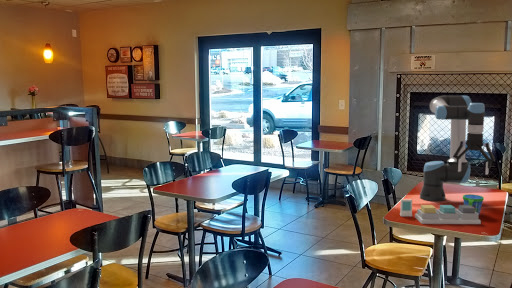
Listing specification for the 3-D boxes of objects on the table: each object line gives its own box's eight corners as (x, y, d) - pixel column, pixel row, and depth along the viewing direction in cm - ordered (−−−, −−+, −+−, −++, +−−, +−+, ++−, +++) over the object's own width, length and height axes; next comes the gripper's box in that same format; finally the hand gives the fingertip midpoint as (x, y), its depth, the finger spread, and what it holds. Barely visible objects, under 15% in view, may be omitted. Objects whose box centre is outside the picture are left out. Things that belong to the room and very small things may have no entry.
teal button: (439, 212, 252) (439, 205, 251) (450, 212, 252) (451, 205, 251) (443, 215, 246) (443, 208, 245) (455, 215, 246) (455, 208, 245)
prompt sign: (399, 214, 261) (400, 198, 259) (410, 214, 260) (411, 198, 259) (401, 216, 258) (401, 200, 256) (412, 216, 257) (412, 200, 256)
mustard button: (420, 212, 252) (420, 204, 252) (431, 212, 252) (432, 205, 252) (424, 215, 246) (424, 207, 246) (435, 215, 246) (436, 208, 246)
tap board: (414, 217, 256) (415, 208, 255) (471, 217, 255) (471, 208, 254) (421, 223, 244) (422, 214, 243) (480, 224, 243) (481, 214, 242)
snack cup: (478, 219, 251) (479, 200, 250) (457, 215, 258) (458, 197, 256) (486, 213, 263) (487, 195, 262) (466, 209, 270) (467, 192, 268)
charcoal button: (458, 212, 251) (458, 205, 251) (469, 212, 251) (470, 205, 251) (462, 215, 246) (463, 208, 245) (474, 215, 245) (474, 208, 245)
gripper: (448, 131, 250) (446, 171, 253) (499, 135, 234) (496, 176, 237) (452, 130, 256) (450, 168, 259) (503, 133, 240) (500, 174, 243)
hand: (472, 172), depth 248 cm, fingers open, 13 cm apart
